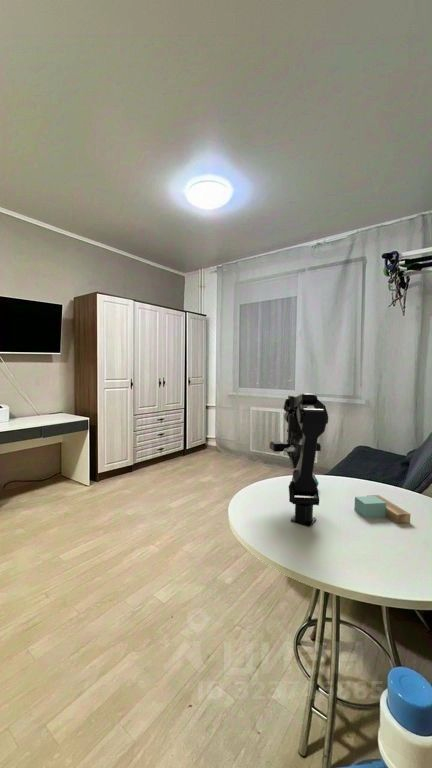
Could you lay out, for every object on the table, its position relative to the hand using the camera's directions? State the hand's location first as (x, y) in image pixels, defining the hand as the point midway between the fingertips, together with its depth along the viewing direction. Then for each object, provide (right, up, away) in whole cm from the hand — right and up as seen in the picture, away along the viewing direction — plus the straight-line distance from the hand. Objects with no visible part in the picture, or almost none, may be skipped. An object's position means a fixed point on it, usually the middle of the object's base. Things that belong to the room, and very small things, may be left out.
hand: (294, 468), depth 123 cm
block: (+24, -13, -11) cm, 29 cm away
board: (+31, -13, -10) cm, 35 cm away
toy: (+9, -12, +12) cm, 20 cm away
